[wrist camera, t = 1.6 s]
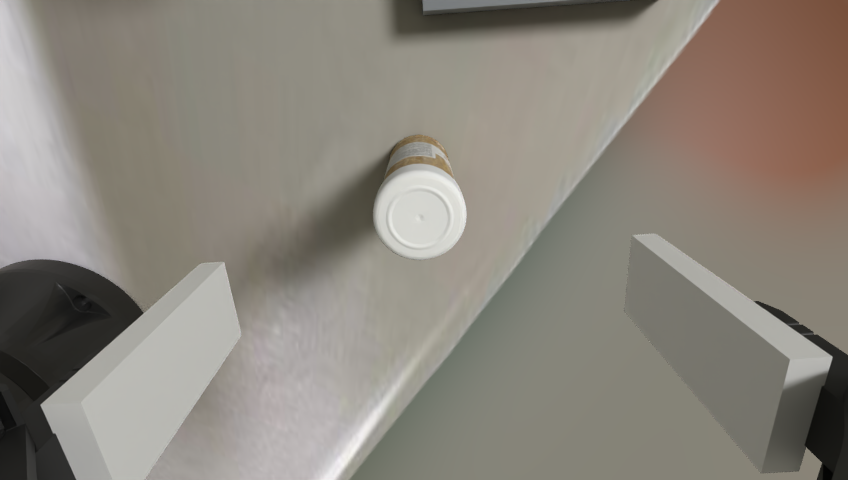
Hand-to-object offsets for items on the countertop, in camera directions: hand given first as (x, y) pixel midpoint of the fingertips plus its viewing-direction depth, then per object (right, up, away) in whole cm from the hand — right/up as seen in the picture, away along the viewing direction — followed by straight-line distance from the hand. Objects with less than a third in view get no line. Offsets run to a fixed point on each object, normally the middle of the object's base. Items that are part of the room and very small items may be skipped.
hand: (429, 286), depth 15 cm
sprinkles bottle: (-1, +7, +20) cm, 21 cm away
